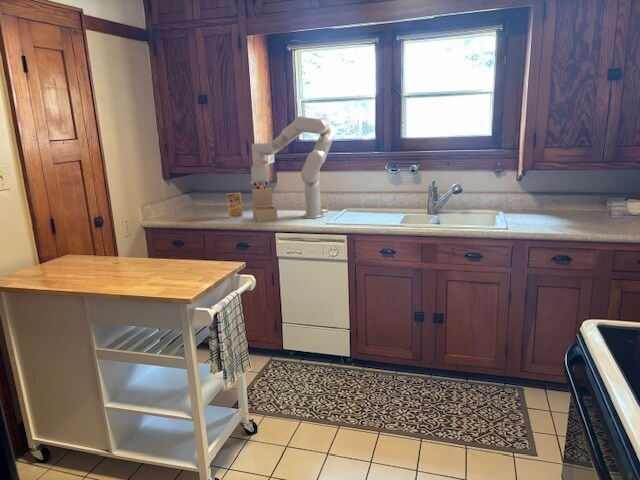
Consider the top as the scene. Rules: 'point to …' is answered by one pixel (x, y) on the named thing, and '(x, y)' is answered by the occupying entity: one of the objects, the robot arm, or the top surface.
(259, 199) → the taped cardboard box
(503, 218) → the top surface
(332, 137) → the robot arm
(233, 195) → the candy box
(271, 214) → the carton
